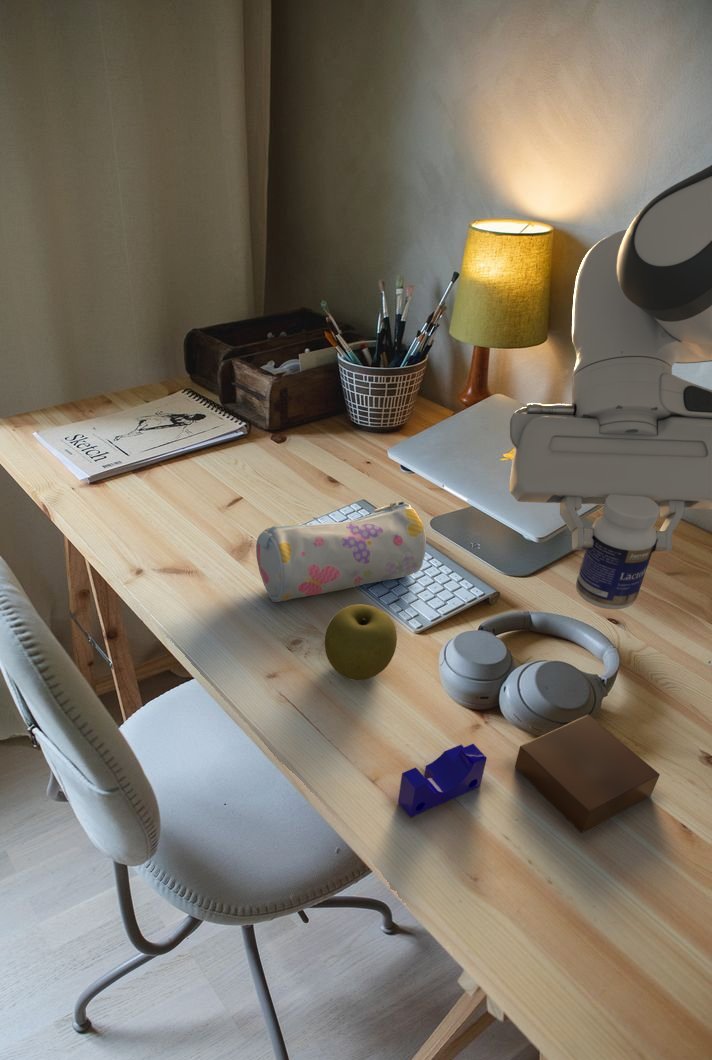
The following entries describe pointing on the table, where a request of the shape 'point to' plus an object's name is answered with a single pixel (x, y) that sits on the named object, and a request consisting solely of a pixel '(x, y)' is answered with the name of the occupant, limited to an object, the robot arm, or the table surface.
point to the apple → (360, 641)
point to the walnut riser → (586, 772)
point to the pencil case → (341, 553)
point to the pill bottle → (618, 552)
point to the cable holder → (442, 779)
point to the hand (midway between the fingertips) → (621, 550)
